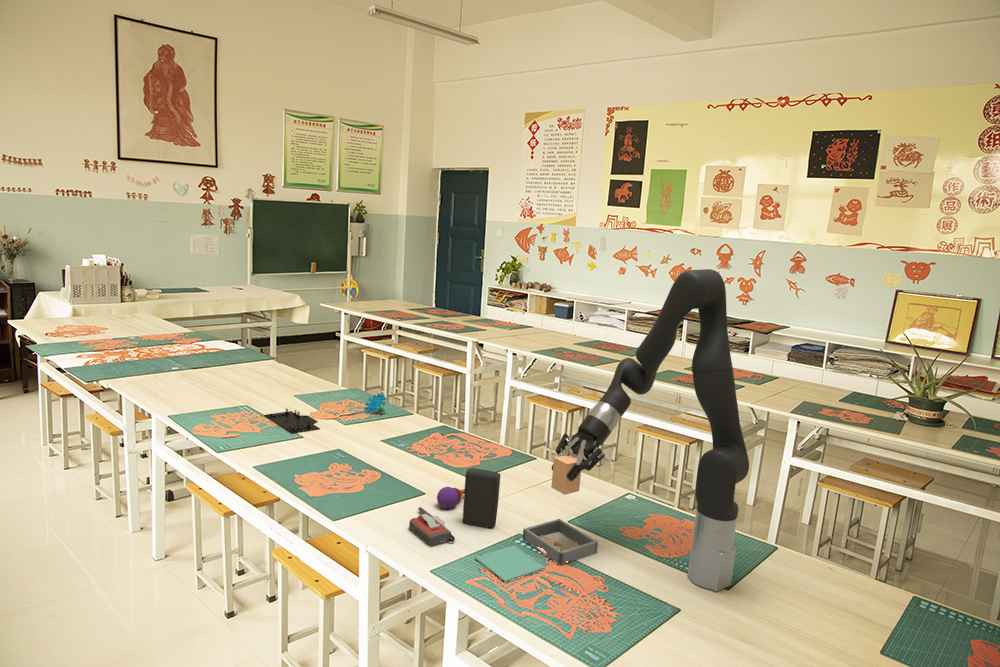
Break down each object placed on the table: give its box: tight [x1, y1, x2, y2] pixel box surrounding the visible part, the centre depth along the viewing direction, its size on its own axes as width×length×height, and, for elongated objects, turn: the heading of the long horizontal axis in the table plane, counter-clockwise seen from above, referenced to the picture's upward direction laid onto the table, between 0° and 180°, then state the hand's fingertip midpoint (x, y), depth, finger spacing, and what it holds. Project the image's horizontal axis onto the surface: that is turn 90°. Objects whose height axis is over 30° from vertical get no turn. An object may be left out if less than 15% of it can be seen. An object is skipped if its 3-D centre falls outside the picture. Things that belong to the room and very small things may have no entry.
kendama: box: [436, 486, 465, 509], centre depth 189 cm, size 6×6×20 cm
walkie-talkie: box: [408, 506, 456, 548], centre depth 169 cm, size 9×4×20 cm
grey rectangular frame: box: [522, 518, 599, 566], centre depth 166 cm, size 15×13×3 cm
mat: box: [474, 545, 546, 583], centre depth 155 cm, size 12×12×1 cm
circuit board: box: [263, 408, 321, 435], centre depth 247 cm, size 25×14×3 cm, turn 42°
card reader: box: [462, 467, 501, 529], centre depth 174 cm, size 9×4×15 cm, turn 77°
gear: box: [364, 392, 387, 415], centre depth 268 cm, size 11×6×10 cm
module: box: [551, 454, 582, 495], centre depth 163 cm, size 5×5×8 cm
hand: (561, 474), depth 162 cm, fingers closed on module, 5 cm apart
